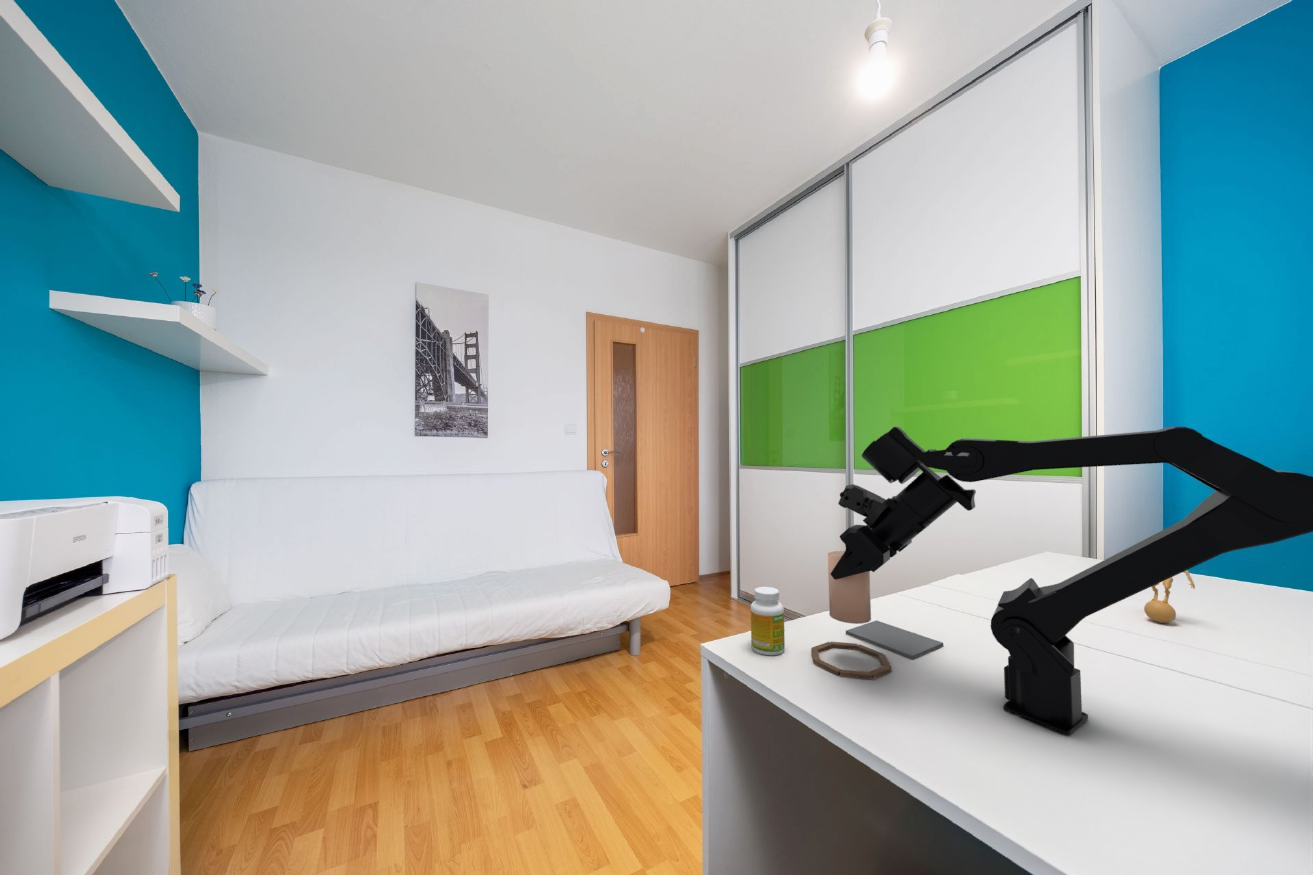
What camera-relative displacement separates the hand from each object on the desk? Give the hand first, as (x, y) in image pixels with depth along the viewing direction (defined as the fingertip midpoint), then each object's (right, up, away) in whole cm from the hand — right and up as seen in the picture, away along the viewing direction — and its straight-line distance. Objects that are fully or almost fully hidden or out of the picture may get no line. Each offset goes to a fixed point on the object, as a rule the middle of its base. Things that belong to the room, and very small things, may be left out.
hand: (839, 572), depth 73 cm
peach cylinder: (+1, -7, -1) cm, 7 cm away
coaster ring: (+1, -13, -1) cm, 13 cm away
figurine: (+65, -13, +13) cm, 68 cm away
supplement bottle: (-11, -14, +3) cm, 18 cm away
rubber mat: (+12, -13, +6) cm, 19 cm away
